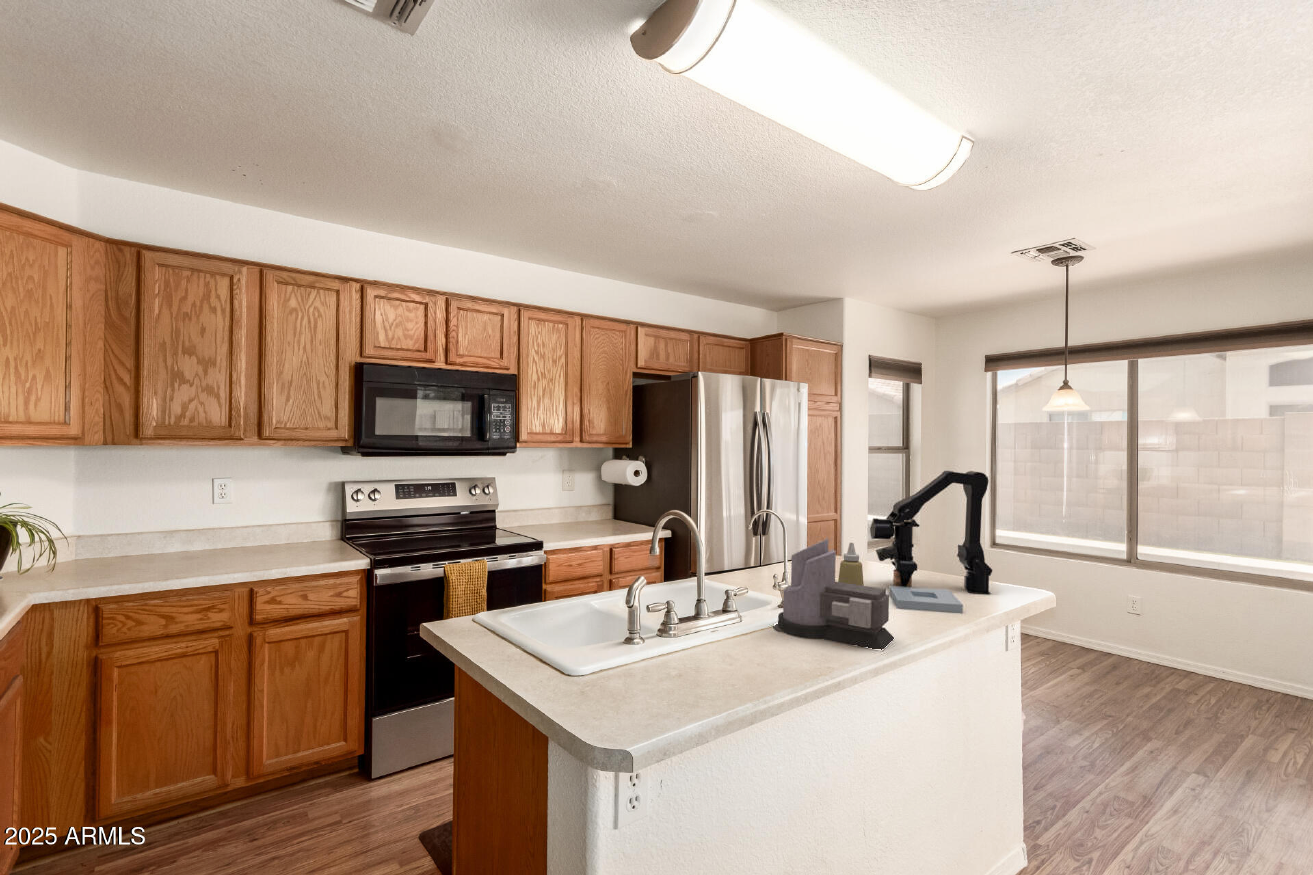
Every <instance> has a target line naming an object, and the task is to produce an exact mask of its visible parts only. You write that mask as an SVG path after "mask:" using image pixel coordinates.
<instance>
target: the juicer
mask: <svg viewBox="0 0 1313 875" xmlns="http://www.w3.org/2000/svg"><path fill="white" fill-rule="evenodd" d="M829 542H830V541H829V538H826V539H822V540H821V541H819V542H816V543H814V544H812V545H810V546H808V547H806V548H803V549H802V550H800V551H798V552H795V553H793V554H792V555H791V563H790V564H791V565H790V566H791V569H790V570H791V571H790V573H791V574H790V575H791V577H790V585H788V586H786V587H785V588H784V589H783V600H782V601H783V606H782V608H783V609H782V611H781V612H780V613H778V616H777V622H778V624H776V625H775V626H773V625H772V628H773V630H774V631H775V632H778V633H783V634H786V635H788V636H791V637H795V638H801V639H807V640H808V639H809V640H824V641H829V642H835V643H839V644H844V643H845V645H850V646H853V645H857V646H856V647H858V646H859V647H860V648H863V647H868V648H872V649H871V650H873V649H881V650H882V649H884V648H885V647H886V646H887V645H888V644H889V643H890V642H891V641H892V642H893V641H894V640H895V639H894V638H895V637H894V636H893V635H892V633H890V632H889V630H887V628H886V627H884V626H885V624H887V623H888V621H889V616H890V615H889V614H890V610H889V609H890V594H887V589H886V588H883V587H882V588H880V587H873V586H867V585H864V586H862V585H855V584H848V583H842V582H838V581H836V562H837V561H836V556H837V553H836V550H834V549H832V550H829ZM893 639H894V640H893ZM892 642H891V643H892ZM891 643H890V644H891ZM890 644H889V645H890ZM889 645H888V646H889ZM888 646H887V647H888ZM887 647H886V648H887ZM868 648H867V649H868ZM886 648H885V649H886ZM885 649H884V650H885Z"/></svg>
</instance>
